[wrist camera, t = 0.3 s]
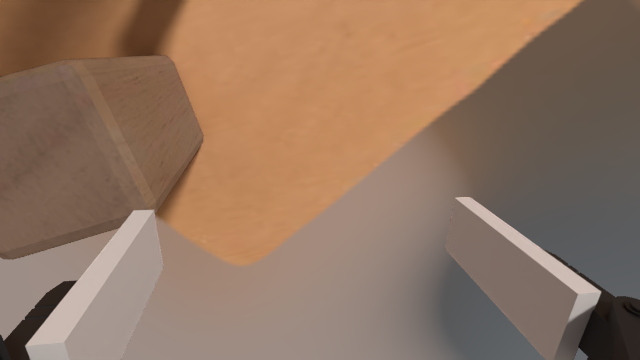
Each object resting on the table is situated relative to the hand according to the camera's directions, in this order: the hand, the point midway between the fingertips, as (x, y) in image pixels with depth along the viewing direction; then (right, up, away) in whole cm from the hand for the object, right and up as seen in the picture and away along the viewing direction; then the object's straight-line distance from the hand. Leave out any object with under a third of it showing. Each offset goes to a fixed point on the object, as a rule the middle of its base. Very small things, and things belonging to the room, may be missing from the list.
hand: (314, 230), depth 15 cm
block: (-19, +10, +22) cm, 31 cm away
